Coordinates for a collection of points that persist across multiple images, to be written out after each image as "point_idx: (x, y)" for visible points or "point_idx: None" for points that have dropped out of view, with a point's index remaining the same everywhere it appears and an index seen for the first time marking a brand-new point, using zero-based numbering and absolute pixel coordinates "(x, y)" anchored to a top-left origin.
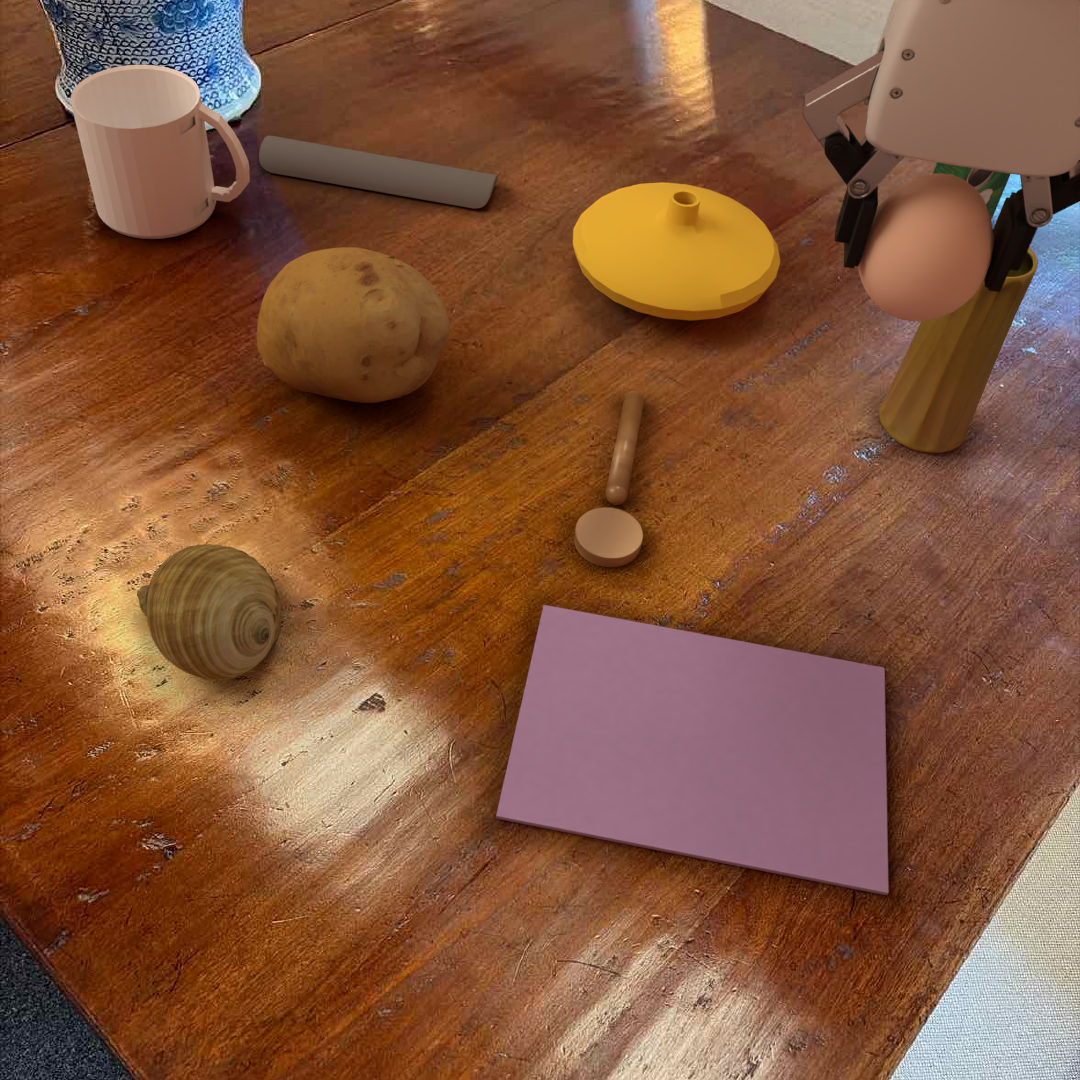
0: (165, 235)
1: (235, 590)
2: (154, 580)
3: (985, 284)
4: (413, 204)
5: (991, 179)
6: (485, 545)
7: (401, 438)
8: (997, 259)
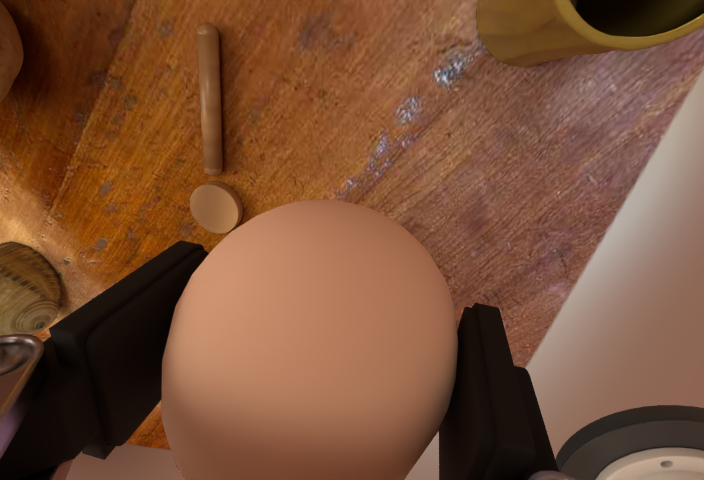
0: None
1: (1, 321)
2: None
3: None
4: None
5: None
6: (142, 213)
7: (48, 108)
8: (440, 447)
